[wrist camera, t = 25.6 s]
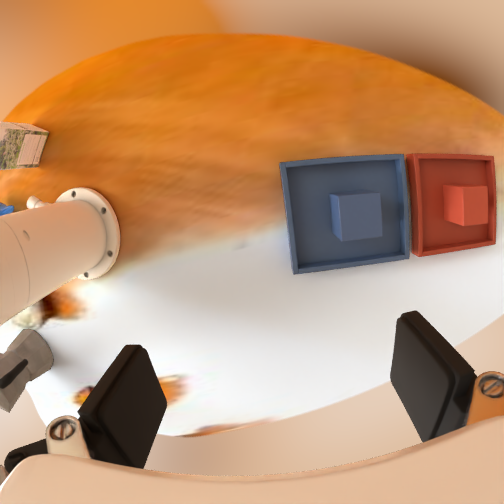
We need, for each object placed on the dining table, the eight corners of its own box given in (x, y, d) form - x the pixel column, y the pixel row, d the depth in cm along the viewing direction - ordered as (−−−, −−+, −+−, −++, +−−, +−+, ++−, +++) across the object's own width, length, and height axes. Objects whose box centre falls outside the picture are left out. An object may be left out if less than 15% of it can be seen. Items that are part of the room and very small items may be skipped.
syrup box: (30, 123, 30) (-39, 117, 16) (51, 132, 31) (-24, 126, 17) (19, 157, 32) (-49, 162, 18) (39, 168, 32) (-35, 175, 18)
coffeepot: (39, 374, 43) (-8, 423, 26) (13, 337, 41) (-40, 380, 24) (72, 357, 40) (15, 420, 23) (42, 312, 38) (-26, 364, 21)
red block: (444, 219, 30) (463, 226, 26) (442, 184, 29) (462, 186, 25) (468, 217, 30) (488, 223, 25) (467, 183, 29) (487, 186, 24)
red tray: (411, 252, 32) (418, 257, 30) (406, 154, 29) (413, 153, 27) (487, 241, 31) (495, 244, 29) (485, 156, 28) (493, 156, 26)
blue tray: (291, 269, 34) (293, 274, 32) (279, 163, 31) (279, 162, 29) (402, 254, 32) (409, 258, 30) (396, 154, 29) (403, 153, 27)
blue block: (332, 233, 32) (341, 241, 27) (328, 193, 31) (337, 195, 26) (369, 228, 31) (383, 236, 27) (366, 189, 30) (380, 192, 26)
